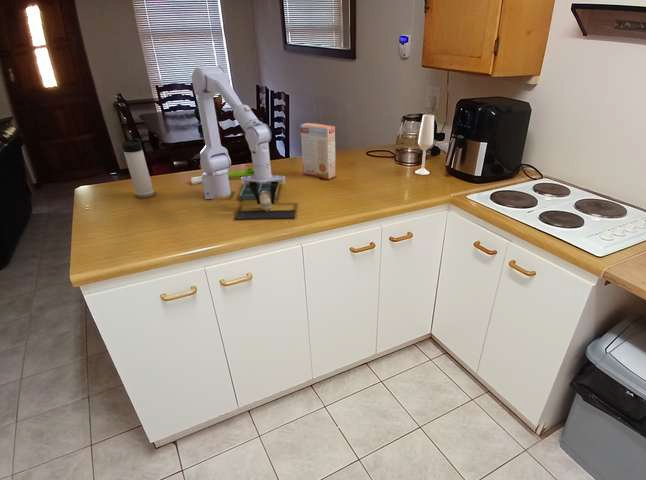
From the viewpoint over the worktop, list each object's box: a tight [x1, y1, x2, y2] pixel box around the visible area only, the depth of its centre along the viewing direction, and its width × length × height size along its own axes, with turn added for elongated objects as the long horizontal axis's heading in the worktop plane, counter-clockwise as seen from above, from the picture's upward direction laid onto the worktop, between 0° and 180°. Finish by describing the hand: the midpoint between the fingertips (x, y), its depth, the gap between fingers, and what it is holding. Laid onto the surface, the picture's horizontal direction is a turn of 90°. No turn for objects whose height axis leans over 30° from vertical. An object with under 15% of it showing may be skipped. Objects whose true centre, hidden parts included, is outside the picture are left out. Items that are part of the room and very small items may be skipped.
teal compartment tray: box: [239, 183, 281, 202], centre depth 159 cm, size 13×20×3 cm
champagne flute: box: [414, 114, 435, 176], centre depth 178 cm, size 7×7×24 cm
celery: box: [191, 167, 254, 186], centre depth 170 cm, size 6×7×30 cm
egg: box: [259, 191, 274, 211], centre depth 142 cm, size 4×4×7 cm
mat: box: [234, 209, 296, 221], centre depth 144 cm, size 20×14×1 cm
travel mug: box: [121, 138, 155, 199], centre depth 151 cm, size 6×7×20 cm
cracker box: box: [300, 122, 336, 180], centre depth 173 cm, size 14×6×21 cm, turn 58°
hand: (266, 203), depth 142 cm, fingers closed on egg, 4 cm apart
